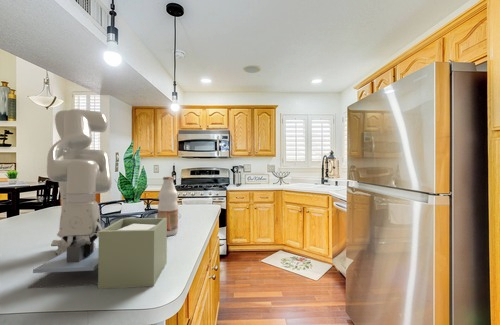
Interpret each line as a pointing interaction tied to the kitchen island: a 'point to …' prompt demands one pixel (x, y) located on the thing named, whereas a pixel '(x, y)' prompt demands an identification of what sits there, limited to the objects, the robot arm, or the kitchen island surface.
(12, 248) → the kitchen island surface
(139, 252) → the storage box
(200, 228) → the kitchen island surface
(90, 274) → the mat
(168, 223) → the fruit juice
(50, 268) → the lid
